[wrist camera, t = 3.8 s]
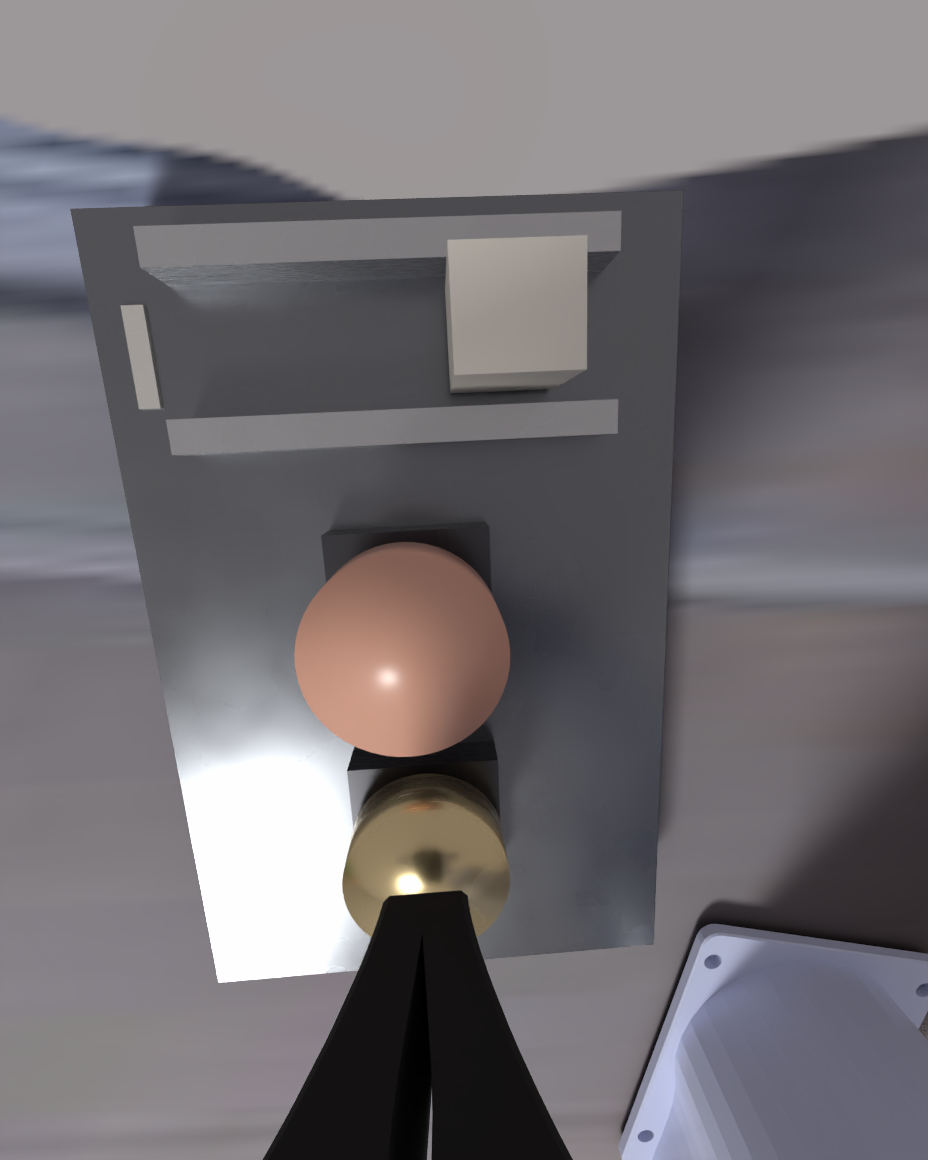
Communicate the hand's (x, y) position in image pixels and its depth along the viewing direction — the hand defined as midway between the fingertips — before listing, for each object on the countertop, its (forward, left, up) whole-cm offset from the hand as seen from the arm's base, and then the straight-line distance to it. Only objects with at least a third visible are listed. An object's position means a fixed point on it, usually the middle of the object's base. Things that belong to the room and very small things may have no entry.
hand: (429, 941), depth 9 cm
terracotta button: (+5, +1, -2) cm, 6 cm away
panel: (+4, +1, -6) cm, 7 cm away
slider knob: (+10, +1, -3) cm, 11 cm away
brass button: (0, 0, -3) cm, 3 cm away
